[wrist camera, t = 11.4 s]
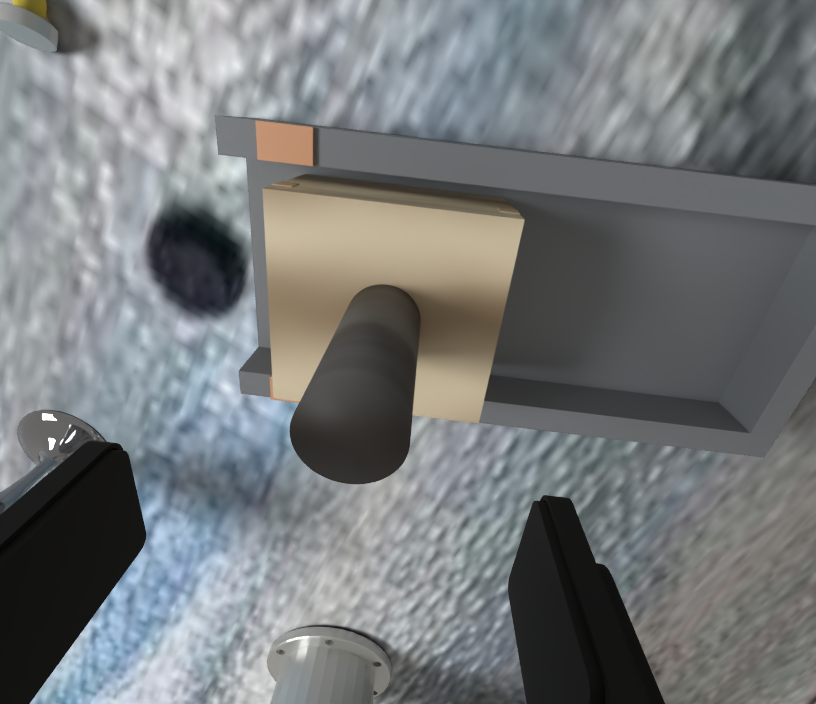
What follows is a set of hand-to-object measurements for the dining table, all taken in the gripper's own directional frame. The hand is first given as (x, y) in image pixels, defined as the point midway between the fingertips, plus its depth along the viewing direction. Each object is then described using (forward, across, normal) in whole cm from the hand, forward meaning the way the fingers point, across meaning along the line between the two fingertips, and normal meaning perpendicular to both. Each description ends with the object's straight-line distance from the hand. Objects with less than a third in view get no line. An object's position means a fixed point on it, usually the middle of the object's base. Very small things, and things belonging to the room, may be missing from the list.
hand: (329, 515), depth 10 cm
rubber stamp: (+16, 0, -1) cm, 16 cm away
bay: (+17, -7, -1) cm, 18 cm away
